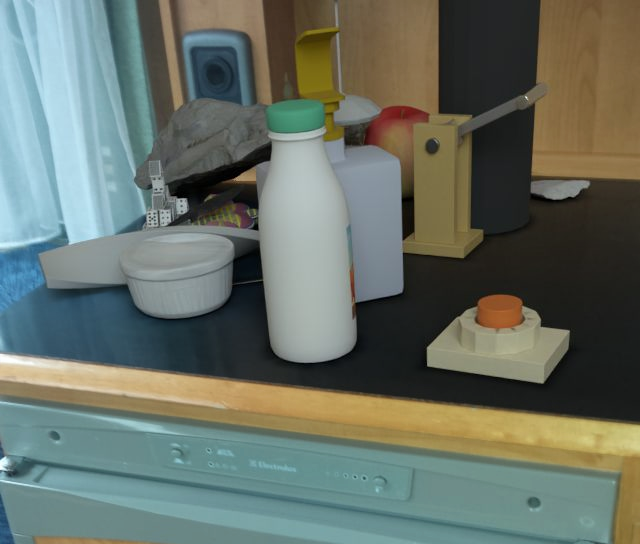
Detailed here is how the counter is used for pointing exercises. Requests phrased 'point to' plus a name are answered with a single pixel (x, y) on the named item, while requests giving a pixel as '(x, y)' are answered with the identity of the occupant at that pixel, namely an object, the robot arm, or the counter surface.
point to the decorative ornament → (229, 216)
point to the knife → (248, 280)
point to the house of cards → (163, 201)
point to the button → (499, 311)
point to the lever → (502, 109)
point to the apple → (397, 139)
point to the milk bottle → (305, 240)
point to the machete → (208, 206)
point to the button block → (499, 348)
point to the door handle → (103, 255)
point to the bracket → (442, 189)
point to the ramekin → (179, 274)
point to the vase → (492, 100)
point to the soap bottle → (355, 178)
